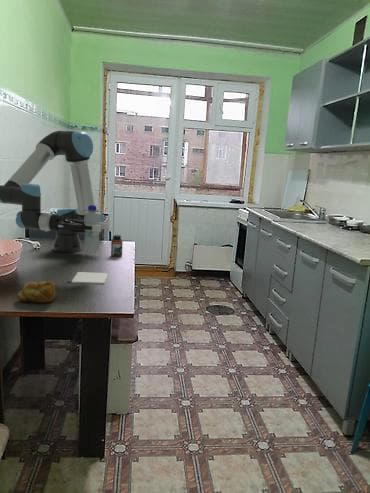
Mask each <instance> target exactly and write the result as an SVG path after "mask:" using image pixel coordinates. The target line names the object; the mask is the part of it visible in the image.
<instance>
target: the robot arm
mask: <svg viewBox="0 0 370 493" xmlns="http://www.w3.org/2000/svg"><path fill="white" fill-rule="evenodd" d="M93 152H94V143H93V140H92V138H91V136H90V135H89V134H88V133H87V132H86V131H78V130H56V131H52V132H50V133H48V134H47V135H45V136H44V137H43V138H42V139H41V140H39V142H38V143H36V145H35V149H34V151H33V152H32V153H31V154H30V155H29V156H28V157H27V158H26V159H25V161H24V162H23V163H22V164H21V165H20V166H19V167H18V169H17V170H16V171H15V172H14V173H13V174H12V175H11V177H9V179H8V180H6V182H5V183H4V184H3V185H0V203H1V204H9V205H15V206H16V205H19V206H21V210H20V211H18V212H17V213H16V217H15V224H16V225H17V227H18V228H20V229H26V230H35V231H44V232H45V233H47V232H48V231H49V232H55V233H56V235H55V239H54V242H53V245H52V247H53V248H52V249H53V251H54V252H58V253H76V252H80V251H82V242H81V239H80V237H79V233H80V234H85V231H94V232H99V234H100V233H101V232H102V230H108V222H105V216H104V215H103V214H102V213H100V212H99V208H98V207H97V206H96V211H97V212H98V213H99V214H100V225H92V224H84V217H85V212H87V211H89V210H88V206H89V205H95V200H94V196H93V195H94V194H93V193H94V192H93V189H92V181H91V175H90V169H89V168H90V167H89V163H88V161H90V159H91V156H92V154H93ZM57 156H65V162H67V163H68V164H69V166H70V171H71V176H72V182H73V189H74V193H75V199H76V205H77V207H68V208H67V207H65V208H58V209H57V210H56V213H50V212H42V210H41V206H42V205H41V204H42V202H41V199H42V198H41V197H42V196H41V195H42V194H41V193H42V192H41V186H40V185H39V184H35V183H31V182H32V181H33V180H34V179H35V178H36V177H37V175H38V174H39V173H40V171H41V170H42V169H43V168H44V167H45V165H46V164H47V163H48V162H49V161H52V160H53V159H54V158H55V157H57Z"/></svg>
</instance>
